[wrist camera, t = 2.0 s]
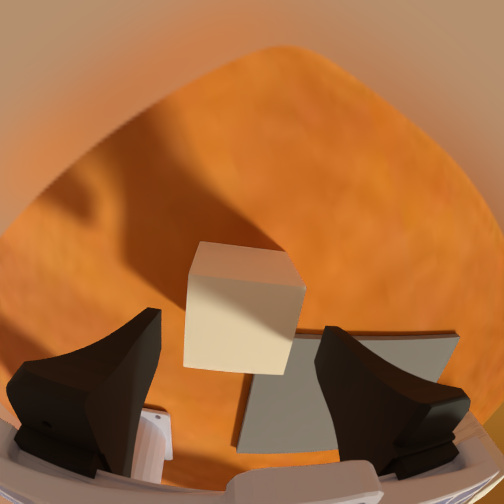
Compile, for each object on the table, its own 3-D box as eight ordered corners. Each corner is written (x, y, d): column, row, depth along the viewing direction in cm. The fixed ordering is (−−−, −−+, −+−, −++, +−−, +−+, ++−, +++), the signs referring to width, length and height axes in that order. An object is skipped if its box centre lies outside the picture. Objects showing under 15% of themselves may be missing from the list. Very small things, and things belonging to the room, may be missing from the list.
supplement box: (411, 456, 28) (443, 521, 16) (432, 425, 25) (475, 496, 14) (449, 440, 28) (483, 497, 16) (471, 408, 26) (514, 468, 14)
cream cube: (193, 316, 18) (183, 366, 13) (200, 240, 17) (188, 273, 12) (271, 324, 19) (283, 374, 14) (286, 251, 17) (306, 287, 12)
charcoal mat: (236, 448, 23) (236, 452, 22) (262, 331, 19) (263, 336, 18) (396, 434, 25) (398, 438, 24) (456, 333, 21) (460, 336, 20)
